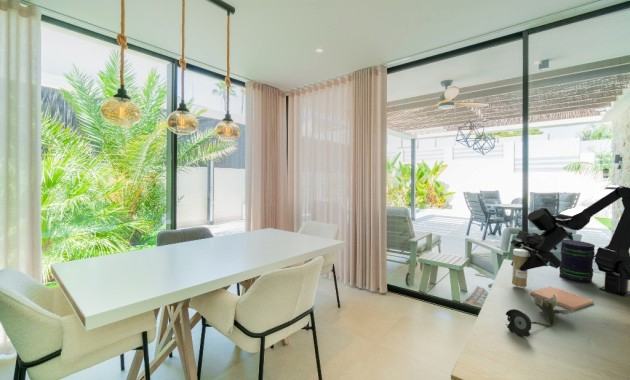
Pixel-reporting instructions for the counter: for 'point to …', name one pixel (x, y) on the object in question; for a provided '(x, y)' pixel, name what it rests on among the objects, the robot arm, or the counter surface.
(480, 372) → the counter surface
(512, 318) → the artificial flower
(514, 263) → the sprinkles bottle
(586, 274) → the storage jar
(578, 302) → the terracotta tile
